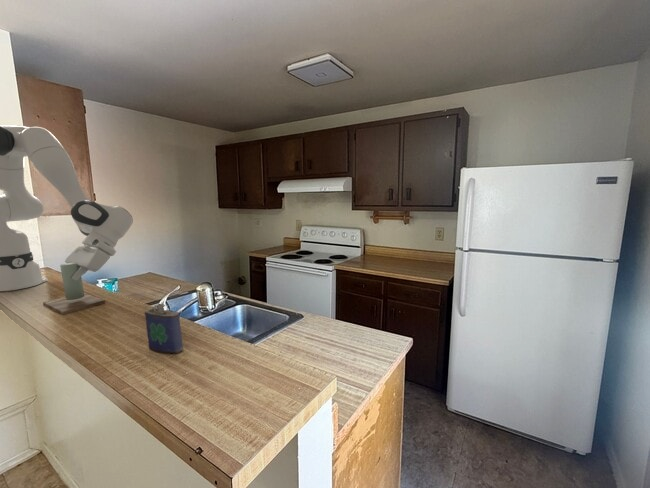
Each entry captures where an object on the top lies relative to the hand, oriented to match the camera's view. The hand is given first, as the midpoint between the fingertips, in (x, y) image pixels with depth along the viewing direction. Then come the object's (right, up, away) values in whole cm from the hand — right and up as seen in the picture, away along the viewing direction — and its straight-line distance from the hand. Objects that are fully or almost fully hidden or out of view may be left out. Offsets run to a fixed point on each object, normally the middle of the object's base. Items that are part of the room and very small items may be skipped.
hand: (69, 278), depth 106 cm
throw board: (-1, -9, +3) cm, 10 cm away
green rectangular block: (+1, -7, +2) cm, 7 cm away
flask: (+49, -14, -31) cm, 60 cm away
